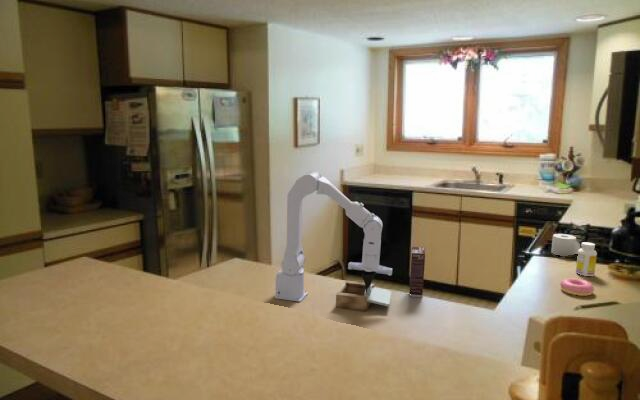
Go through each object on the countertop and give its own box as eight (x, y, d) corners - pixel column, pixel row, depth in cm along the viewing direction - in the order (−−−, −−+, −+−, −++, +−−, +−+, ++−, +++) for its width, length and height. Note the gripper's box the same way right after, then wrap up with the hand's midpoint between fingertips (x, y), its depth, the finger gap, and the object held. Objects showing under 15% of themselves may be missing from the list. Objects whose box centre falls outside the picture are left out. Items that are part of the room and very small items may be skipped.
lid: (362, 300, 157) (364, 291, 156) (366, 287, 168) (368, 279, 167) (388, 306, 156) (390, 298, 155) (391, 293, 167) (392, 285, 166)
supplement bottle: (594, 273, 195) (598, 243, 193) (593, 278, 190) (597, 246, 187) (576, 270, 199) (579, 240, 197) (574, 275, 193) (578, 244, 191)
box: (335, 307, 159) (336, 294, 158) (346, 292, 172) (347, 280, 172) (365, 311, 156) (366, 298, 155) (374, 295, 169) (374, 283, 168)
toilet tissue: (585, 256, 219) (587, 238, 217) (560, 258, 215) (562, 239, 214) (570, 250, 227) (572, 232, 226) (546, 252, 224) (548, 234, 222)
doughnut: (599, 294, 174) (601, 283, 173) (581, 300, 169) (583, 288, 168) (571, 284, 183) (572, 274, 183) (553, 289, 178) (554, 279, 177)
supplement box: (423, 298, 168) (425, 254, 165) (408, 296, 169) (411, 253, 166) (422, 289, 176) (425, 247, 173) (409, 287, 177) (411, 246, 174)
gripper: (347, 253, 158) (344, 292, 161) (391, 259, 154) (387, 300, 156) (352, 247, 165) (349, 285, 167) (394, 253, 160) (391, 292, 163)
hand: (368, 292), depth 162 cm, fingers closed, pressing on lid
